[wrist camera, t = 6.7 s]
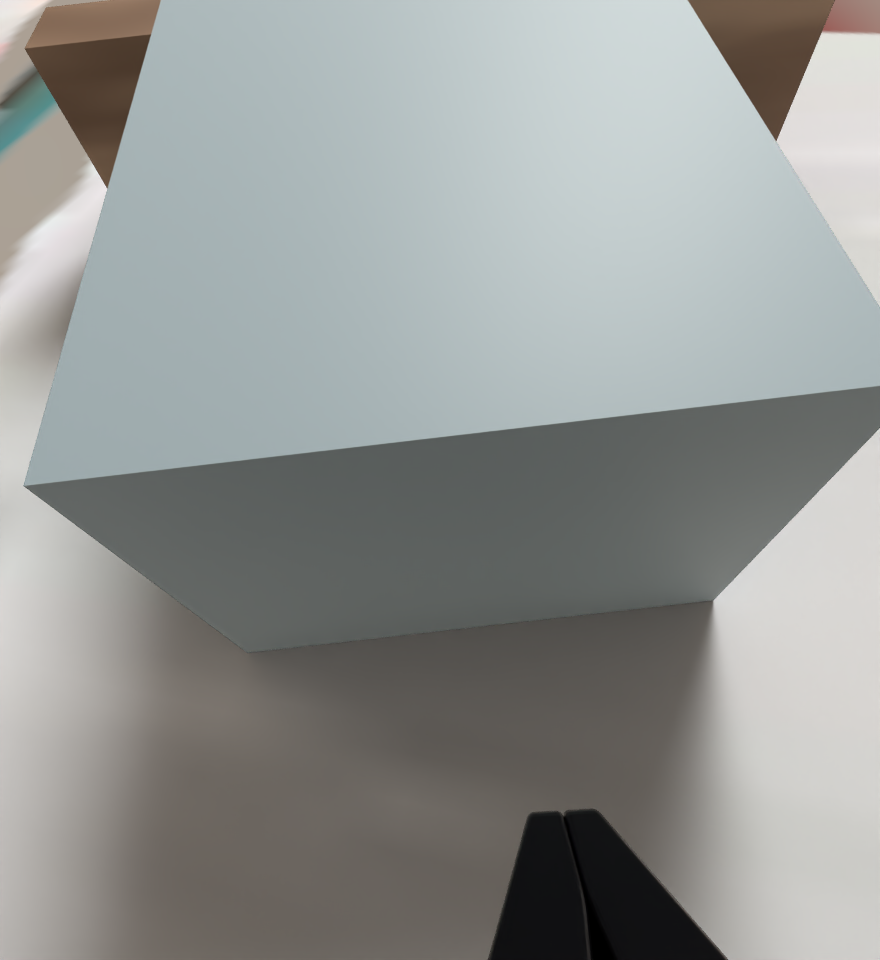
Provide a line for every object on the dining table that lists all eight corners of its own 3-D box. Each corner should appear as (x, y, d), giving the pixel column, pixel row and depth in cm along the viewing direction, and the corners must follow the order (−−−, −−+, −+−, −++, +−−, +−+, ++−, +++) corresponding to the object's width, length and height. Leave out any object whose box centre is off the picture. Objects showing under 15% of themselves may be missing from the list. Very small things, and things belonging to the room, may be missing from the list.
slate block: (711, 602, 16) (925, 380, 8) (249, 654, 16) (22, 486, 8) (581, 206, 24) (626, -98, 16) (274, 243, 24) (172, -40, 16)
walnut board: (759, 181, 24) (853, -45, 17) (140, 245, 24) (24, 48, 18) (739, 142, 25) (820, -81, 19) (151, 205, 25) (45, 7, 19)
